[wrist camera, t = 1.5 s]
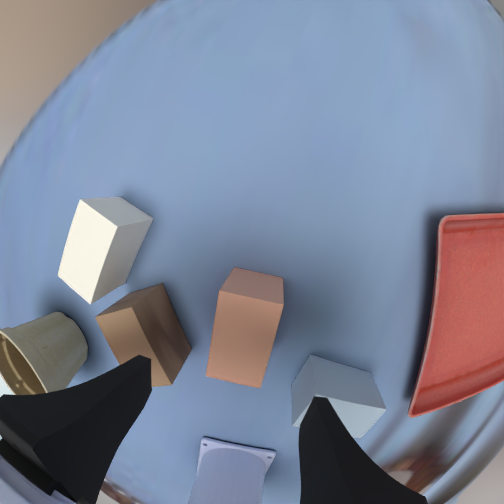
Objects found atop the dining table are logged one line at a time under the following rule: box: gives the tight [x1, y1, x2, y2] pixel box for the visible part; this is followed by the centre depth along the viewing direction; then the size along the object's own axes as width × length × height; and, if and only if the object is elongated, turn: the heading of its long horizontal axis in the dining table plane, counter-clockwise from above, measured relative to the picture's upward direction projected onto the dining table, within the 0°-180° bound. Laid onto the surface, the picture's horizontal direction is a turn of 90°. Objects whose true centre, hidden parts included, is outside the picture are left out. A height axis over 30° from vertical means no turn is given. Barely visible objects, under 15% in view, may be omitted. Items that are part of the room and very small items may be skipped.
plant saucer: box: [408, 213, 504, 418], centre depth 16 cm, size 18×18×3 cm
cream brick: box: [58, 197, 153, 304], centre depth 17 cm, size 6×4×5 cm, turn 149°
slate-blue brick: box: [291, 354, 386, 438], centre depth 18 cm, size 6×4×5 cm, turn 69°
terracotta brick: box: [206, 267, 284, 388], centre depth 17 cm, size 6×4×5 cm, turn 169°
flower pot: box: [0, 312, 88, 395], centre depth 18 cm, size 9×9×9 cm
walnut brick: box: [95, 283, 192, 387], centre depth 18 cm, size 6×4×5 cm, turn 19°
